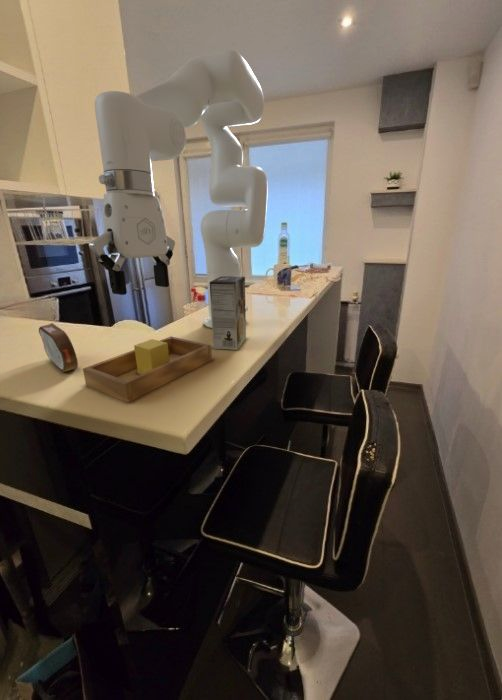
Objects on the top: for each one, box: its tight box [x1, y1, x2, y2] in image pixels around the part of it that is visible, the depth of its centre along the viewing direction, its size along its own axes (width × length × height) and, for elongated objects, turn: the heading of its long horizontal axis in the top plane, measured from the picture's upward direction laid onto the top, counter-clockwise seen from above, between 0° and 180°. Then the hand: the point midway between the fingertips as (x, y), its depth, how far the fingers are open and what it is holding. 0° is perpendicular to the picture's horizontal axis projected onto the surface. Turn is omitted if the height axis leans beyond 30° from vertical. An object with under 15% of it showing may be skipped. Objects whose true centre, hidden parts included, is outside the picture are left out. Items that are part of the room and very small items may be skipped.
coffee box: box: [210, 276, 247, 351], centre depth 79 cm, size 9×6×16 cm
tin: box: [38, 322, 79, 373], centre depth 68 cm, size 15×3×8 cm, turn 44°
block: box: [133, 338, 170, 375], centre depth 65 cm, size 4×4×6 cm
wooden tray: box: [82, 335, 213, 404], centre depth 65 cm, size 22×12×4 cm, turn 147°
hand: (142, 289), depth 60 cm, fingers open, 9 cm apart
